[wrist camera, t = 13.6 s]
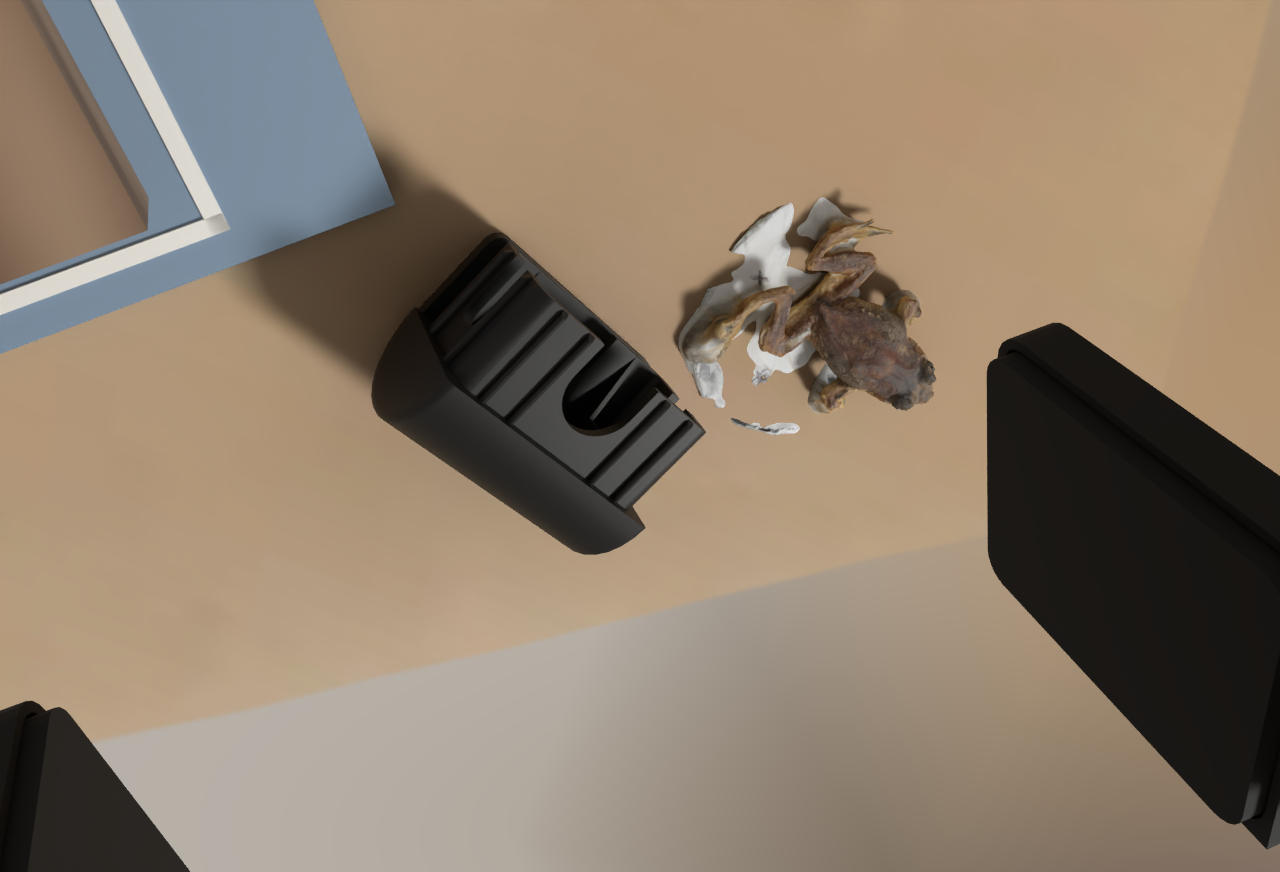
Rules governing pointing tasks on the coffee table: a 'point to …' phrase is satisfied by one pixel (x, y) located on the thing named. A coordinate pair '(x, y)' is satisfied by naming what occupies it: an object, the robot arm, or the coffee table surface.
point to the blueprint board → (205, 147)
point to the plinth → (55, 153)
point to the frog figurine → (810, 318)
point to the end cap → (533, 398)
